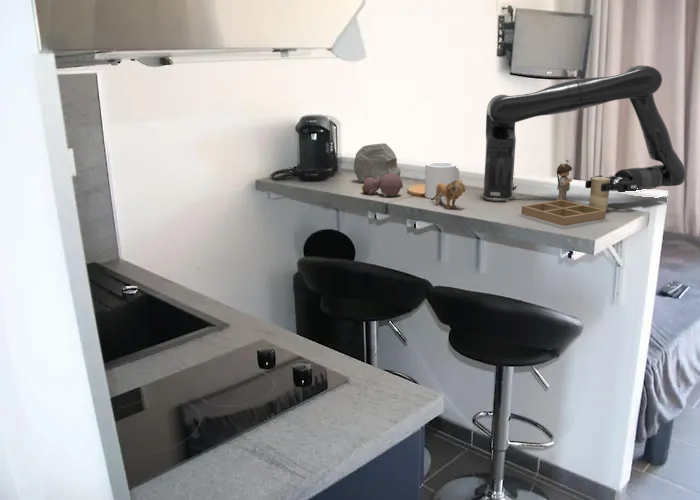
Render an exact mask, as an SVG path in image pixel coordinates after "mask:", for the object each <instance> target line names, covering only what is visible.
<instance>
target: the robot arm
mask: <svg viewBox="0 0 700 500" xmlns="http://www.w3.org/2000/svg"><path fill="white" fill-rule="evenodd" d="M662 84H663V76H662V73H661V72H660V70H658V69H657V68H656V67H653V66H651V65H641V64H640V65H639V64H638V65H633V66H631V67H629V69H627V70H626V71H625V72H624V73H619V74H616V75H611V76H597V77H586V78H577V79H573V80H568V81H563V82H559V83H556V84H553V85H549V86H548V87H545V88H543V89H540V90H538V91H535V92H531V93H525V94H517V95H515V94H514V95H507V94H498V95H495V96H493V97H492V98H491V99H490V100H489V102H488V103H487V106H486V115H485V116H486V118H485V156H484V157H485V159H484V175H483V176H484V178H483V193H482V199H483V200H486V201H490V202H507V201H511V200H513V191H514V189H515V188H514V187H513V186H514V185H513V182H514V177H513V175H514V176H515V174H514V172H515V158H516V143H517V138H516V130H515V129H516V123H518V122H522V121H525V120H528V119H531V118H532V119H533V118H536V117H541V116H552V115H558V114H566V113H570V112H575V111H580V110H583V109H589V108H593V107H596V106H600V105H602V104H606V103H610V102H614V101H619V100H627V99H628V100H629V101H630V103H631V105H632V107H633V110H634V112H635V115H636V117H637V119H638V123H639V126H640V128H641V132H642V135H643V138H644V143H645V146H646V150H647V152H648V156H649V158H650V159H651V160H653V161H655V162H656V161H657V162H660V163H662V164H655V165H651V166H645V167H631V168H624V169H619V170H617V171H616V172H615V174H614V175H609V176H603V175H601V174H600V175H596V176H591V177H590V179H589V180H585V186H584V187H585V189H591V180H592V178H593V177H605V178H609V179H610V183H605V184H602V185H601V191H603V192H605V191H609V192H610V191H611V192H617V191H618V192H617V193H619V192H625V191H636V190H642V189H647V190H646V191H648V190H652V189H656V188H661V187H662V188H663V187H678V186H680V185H681V186H682V184H684V182H685V180H686V178H687V170H686V168H685V167H686V166H685V165H684V164H683V162H682V160H681V158H680V157H679V156H678V154H677V152H676V151H675V149H674V147H673V143H672V140H671V136H670V133H669V130H668V128H667V126H666V123H665V121H664V119H663V117H662V115H661V114H660V111H659V110H658V107H657V105H656V102H655V98H654V94H655V93H656V92H658V90H659V89H660V88H661V86H662ZM637 188H638V189H637Z"/></svg>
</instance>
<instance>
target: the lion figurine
mask: <svg viewBox="0 0 700 500" xmlns="http://www.w3.org/2000/svg"><path fill="white" fill-rule="evenodd" d="M467 190H468V187H467V186H466V185H465V184H464V182H463V180H462V179H460V180H456V181H453V182H452V183H449V184H448V186H446V185H445V184H444V183H440V184H438V185H437V188H436V195H435V197H434V198H432V199H431V198H430V200H431V201H434V200H435V202H434V203H435V205H436V206H437V205H440V203H443V199H441V198H442V196H444V197H445V198H446V199H445V200H446V209H447V210H450V209H451V208H454V209H455V208H457V204H455V203H456V201H457V200H458V199H459V197H461V196H462V195H463V193H466V191H467ZM440 192H441V194H440ZM439 194H440V195H439ZM438 197H439V199H438ZM435 198H436V199H435ZM450 203H451V204H450Z"/></svg>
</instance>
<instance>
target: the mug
mask: <svg viewBox="0 0 700 500" xmlns="http://www.w3.org/2000/svg"><path fill="white" fill-rule="evenodd" d="M424 166H425V167H424V168H425V169H424V197H425V198H427V199H430V200H431V199H432V198H434V197H435V195H436V188H437V185H438V184H440V183H444V184H445V185H446V186H448V184H449V183H452V182H453V181H456V180H461V178H460V177H461V175H460V174H461V173H460V170H459V168H458V167H457V164H456V163H453V162H445V161H444V162H443V161H436V162H435V161H432V162H428V163H427V162H426V163H425V165H424ZM425 193H426V194H425ZM440 194H441V192H440ZM440 194H439V195H440ZM438 199H439V197H438ZM434 200H436V198H435V199H434ZM441 200H447V199H446V198H445V197H444V196H442V198H441Z"/></svg>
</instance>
